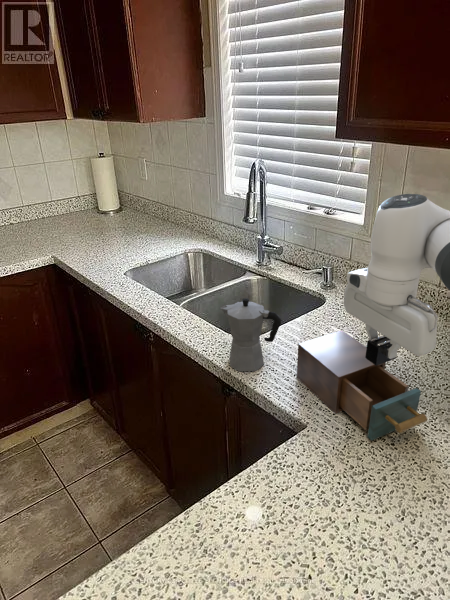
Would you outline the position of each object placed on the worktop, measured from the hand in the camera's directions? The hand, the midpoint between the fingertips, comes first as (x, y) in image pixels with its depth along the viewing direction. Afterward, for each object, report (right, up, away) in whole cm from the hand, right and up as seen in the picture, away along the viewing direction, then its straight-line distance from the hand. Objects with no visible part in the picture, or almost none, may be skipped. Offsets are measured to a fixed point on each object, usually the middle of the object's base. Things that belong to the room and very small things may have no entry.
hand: (381, 350), depth 86 cm
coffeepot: (-24, -6, +27) cm, 36 cm away
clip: (0, -1, +1) cm, 2 cm away
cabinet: (-4, -10, +17) cm, 20 cm away
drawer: (+1, -14, +6) cm, 16 cm away
